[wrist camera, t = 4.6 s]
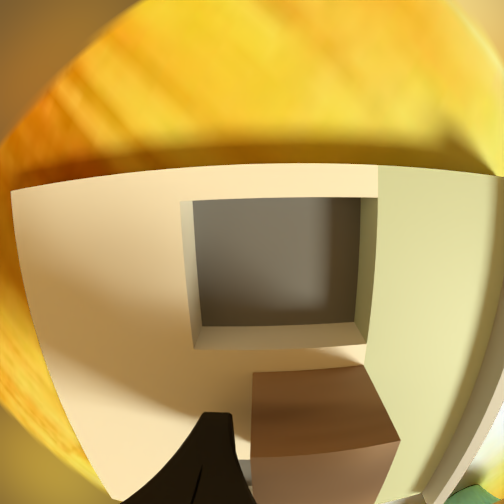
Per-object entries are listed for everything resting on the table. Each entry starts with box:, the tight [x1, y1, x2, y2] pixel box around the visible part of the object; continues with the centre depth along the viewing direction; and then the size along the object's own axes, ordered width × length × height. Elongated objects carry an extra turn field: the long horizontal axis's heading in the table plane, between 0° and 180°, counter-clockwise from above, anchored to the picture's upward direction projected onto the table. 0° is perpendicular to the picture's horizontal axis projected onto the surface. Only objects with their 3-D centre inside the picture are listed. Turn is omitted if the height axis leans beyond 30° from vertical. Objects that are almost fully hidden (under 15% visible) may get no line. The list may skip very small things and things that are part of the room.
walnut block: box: [250, 365, 401, 504], centre depth 9 cm, size 4×4×4 cm
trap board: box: [11, 163, 504, 504], centre depth 11 cm, size 18×20×4 cm
